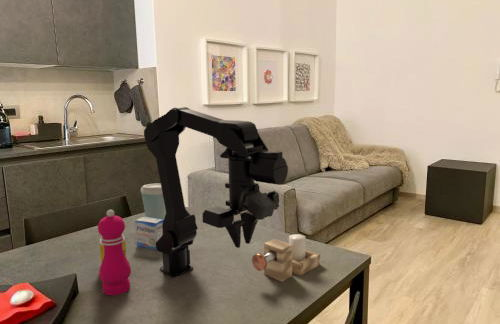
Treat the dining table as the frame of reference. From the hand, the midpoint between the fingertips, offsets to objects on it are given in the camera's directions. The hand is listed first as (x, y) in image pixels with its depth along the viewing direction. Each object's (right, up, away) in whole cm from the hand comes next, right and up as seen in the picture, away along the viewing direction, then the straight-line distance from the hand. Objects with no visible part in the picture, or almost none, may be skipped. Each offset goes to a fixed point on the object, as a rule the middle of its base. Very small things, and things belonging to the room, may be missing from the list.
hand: (242, 245), depth 89 cm
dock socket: (+13, -9, +15) cm, 21 cm away
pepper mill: (-31, -12, +5) cm, 33 cm away
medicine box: (-29, -7, +31) cm, 43 cm away
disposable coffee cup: (-31, -4, +50) cm, 59 cm away
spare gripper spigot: (+14, -9, +17) cm, 24 cm away
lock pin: (+7, -7, +8) cm, 12 cm away
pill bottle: (-35, -10, +16) cm, 40 cm away
